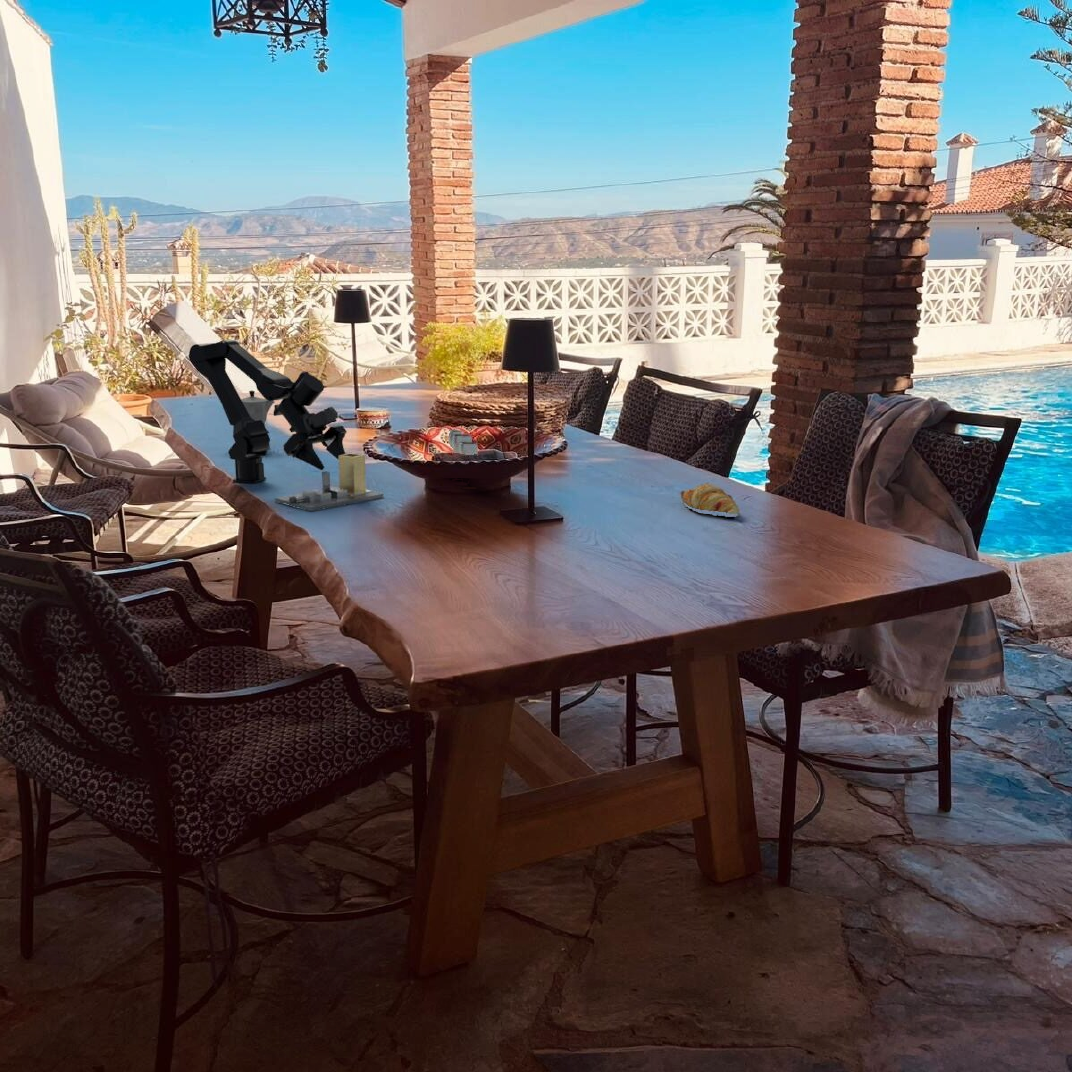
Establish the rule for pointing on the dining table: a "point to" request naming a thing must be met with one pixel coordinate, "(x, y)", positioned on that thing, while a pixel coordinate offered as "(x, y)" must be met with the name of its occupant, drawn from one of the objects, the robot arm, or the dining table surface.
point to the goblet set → (462, 443)
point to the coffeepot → (256, 408)
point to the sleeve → (352, 472)
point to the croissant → (709, 499)
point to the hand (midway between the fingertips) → (334, 466)
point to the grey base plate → (327, 496)
